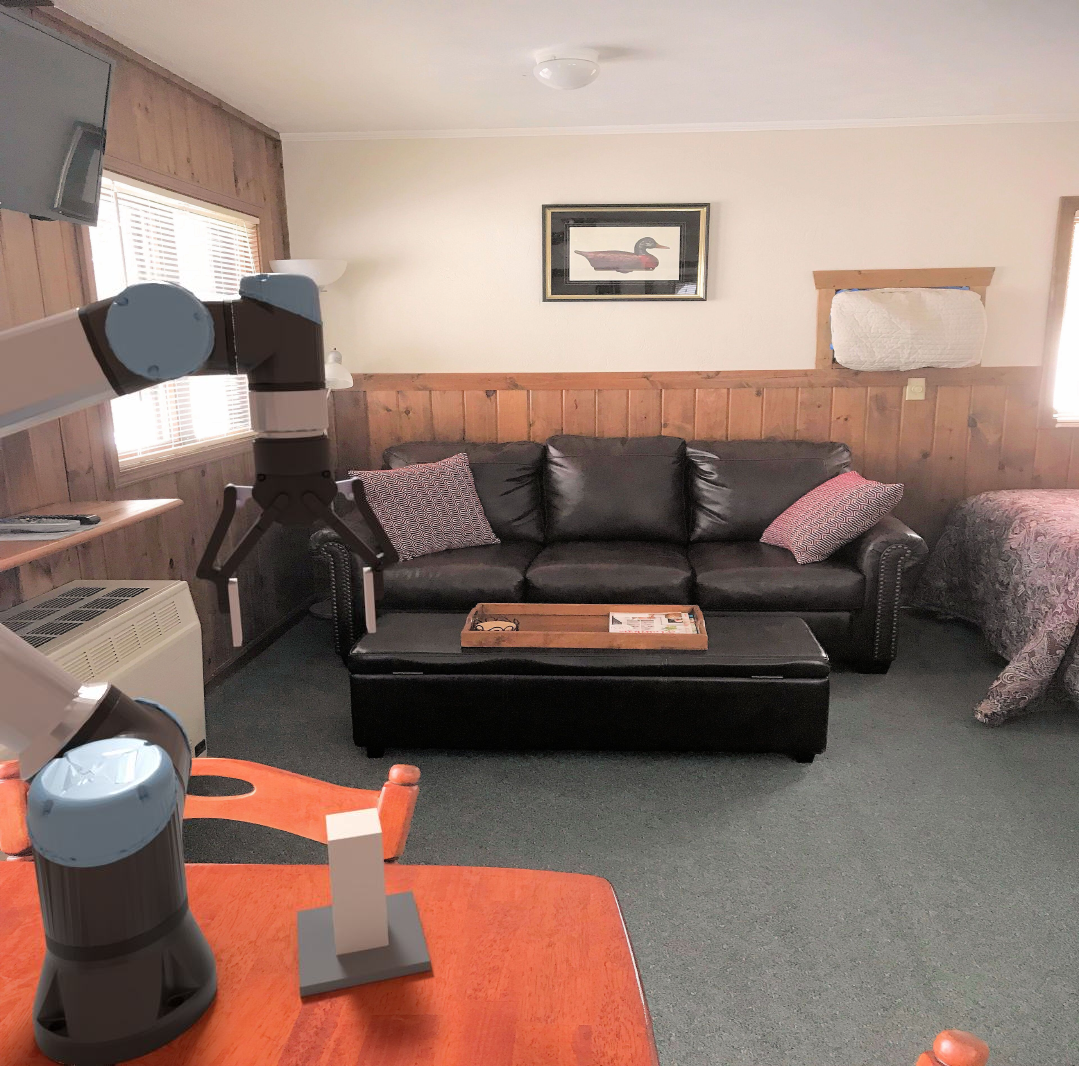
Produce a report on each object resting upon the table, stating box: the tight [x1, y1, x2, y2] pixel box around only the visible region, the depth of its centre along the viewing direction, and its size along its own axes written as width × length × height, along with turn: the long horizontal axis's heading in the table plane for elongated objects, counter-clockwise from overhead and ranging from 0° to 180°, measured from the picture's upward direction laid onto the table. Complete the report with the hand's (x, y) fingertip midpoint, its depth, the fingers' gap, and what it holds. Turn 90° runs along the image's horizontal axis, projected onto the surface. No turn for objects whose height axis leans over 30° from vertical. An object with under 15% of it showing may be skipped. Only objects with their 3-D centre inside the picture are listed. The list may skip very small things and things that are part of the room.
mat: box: [296, 890, 432, 998], centre depth 89 cm, size 12×12×1 cm
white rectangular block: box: [325, 807, 389, 955], centre depth 88 cm, size 5×5×12 cm
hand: (305, 636), depth 94 cm, fingers open, 13 cm apart
